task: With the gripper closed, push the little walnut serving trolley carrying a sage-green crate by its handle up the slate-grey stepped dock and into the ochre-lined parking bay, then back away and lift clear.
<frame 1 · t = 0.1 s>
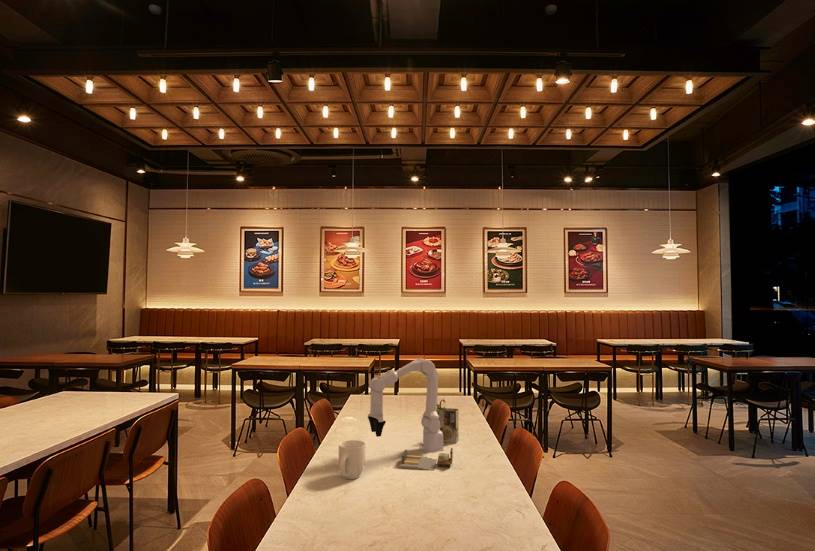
hand: (376, 434, 208), 10 cm above the table, tool pointing down, fingers open, 7 cm apart
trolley: (445, 457, 196), point 4 cm above the table, slide at 0.0 cm
dock: (426, 464, 197), on the table
mug: (350, 477, 181), on the table
plant: (440, 418, 281), on the table
coffee box: (448, 441, 232), on the table
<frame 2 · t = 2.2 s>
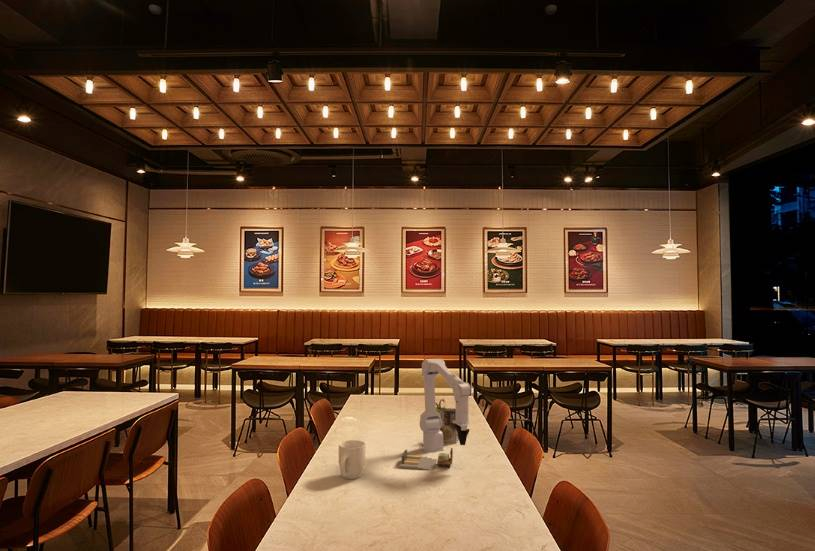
hand: (461, 442, 195), 10 cm above the table, tool pointing down, fingers open, 5 cm apart
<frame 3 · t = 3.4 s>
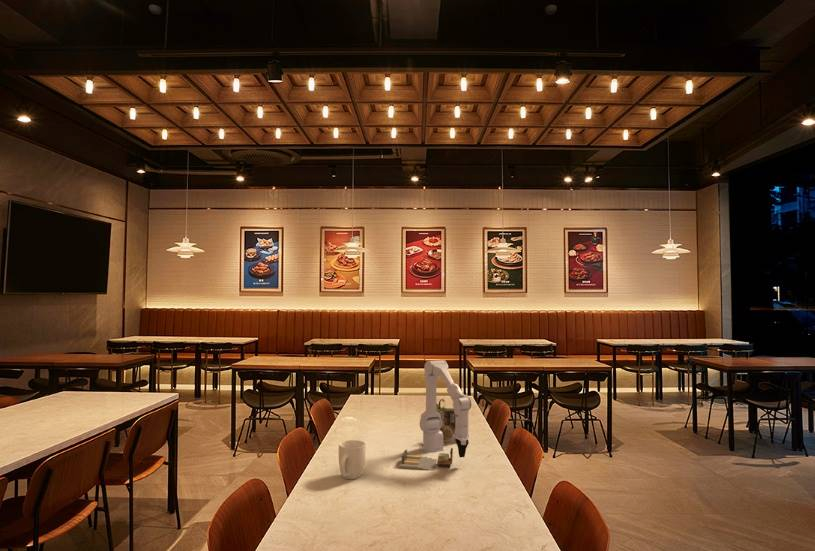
hand: (461, 456, 195), 4 cm above the table, tool pointing down, fingers closed
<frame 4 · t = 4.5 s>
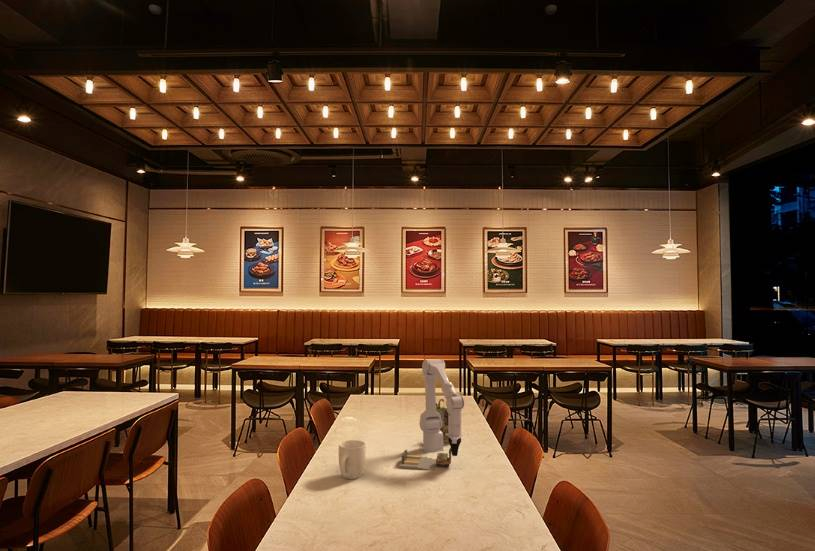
hand: (454, 455, 195), 5 cm above the table, tool pointing down, fingers closed, pressing on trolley
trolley: (443, 457, 196), point 4 cm above the table, slide at 0.6 cm, touching gripper
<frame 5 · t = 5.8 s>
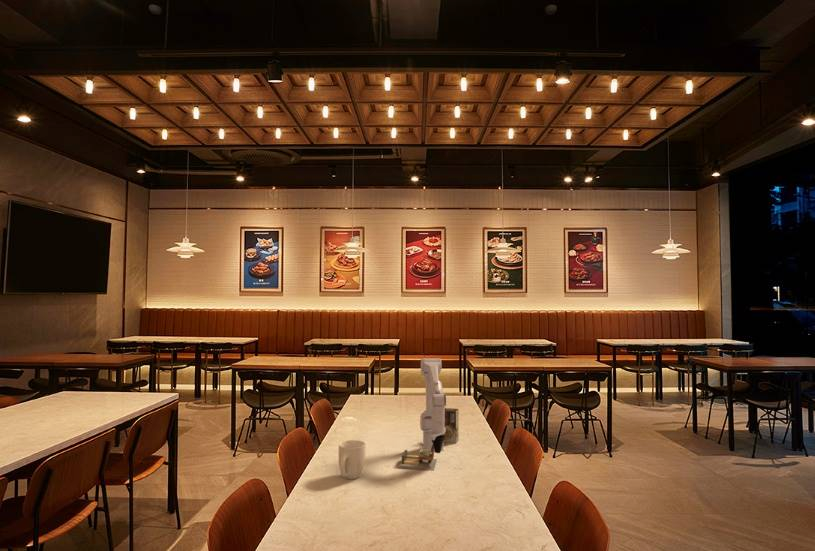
hand: (437, 452, 196), 6 cm above the table, tool pointing down, fingers closed
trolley: (426, 453, 197), point 5 cm above the table, slide at 8.4 cm, touching gripper
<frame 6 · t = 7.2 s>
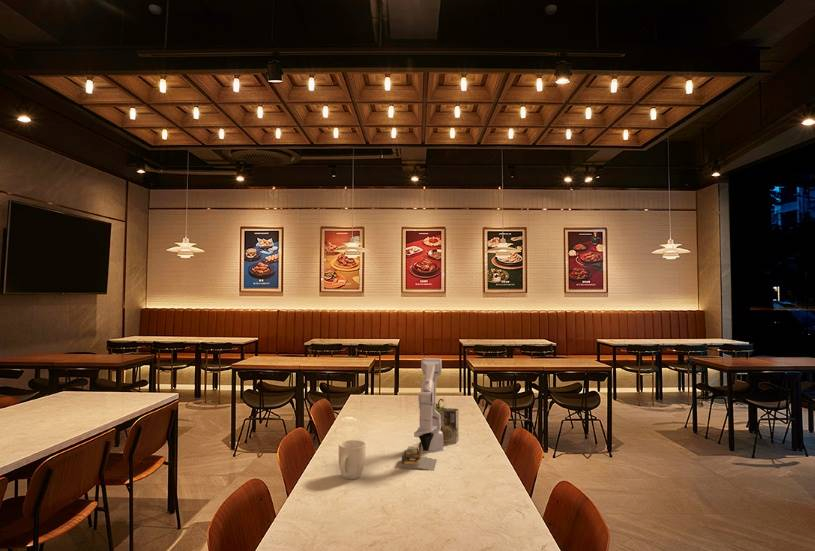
hand: (425, 450, 197), 6 cm above the table, tool pointing down, fingers closed
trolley: (413, 450, 198), point 6 cm above the table, slide at 14.0 cm, touching gripper
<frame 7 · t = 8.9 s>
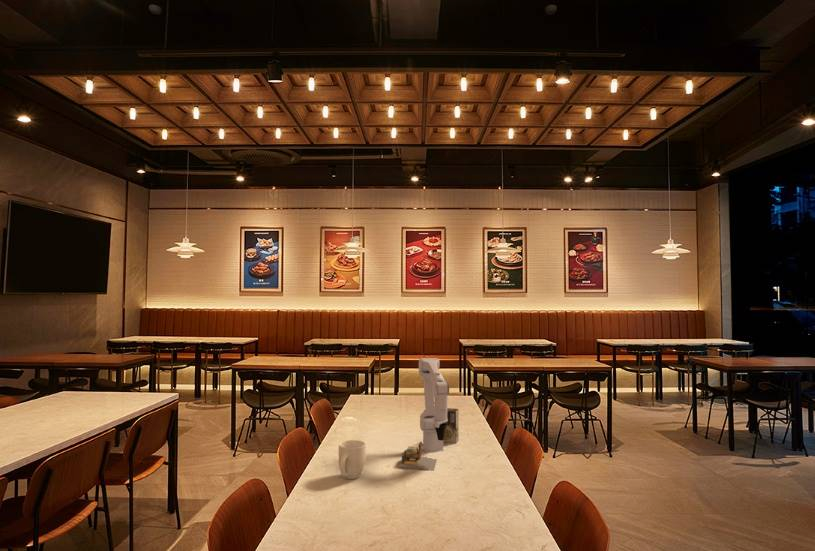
hand: (440, 440, 199), 10 cm above the table, tool pointing down, fingers closed
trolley: (413, 450, 198), point 6 cm above the table, slide at 14.0 cm
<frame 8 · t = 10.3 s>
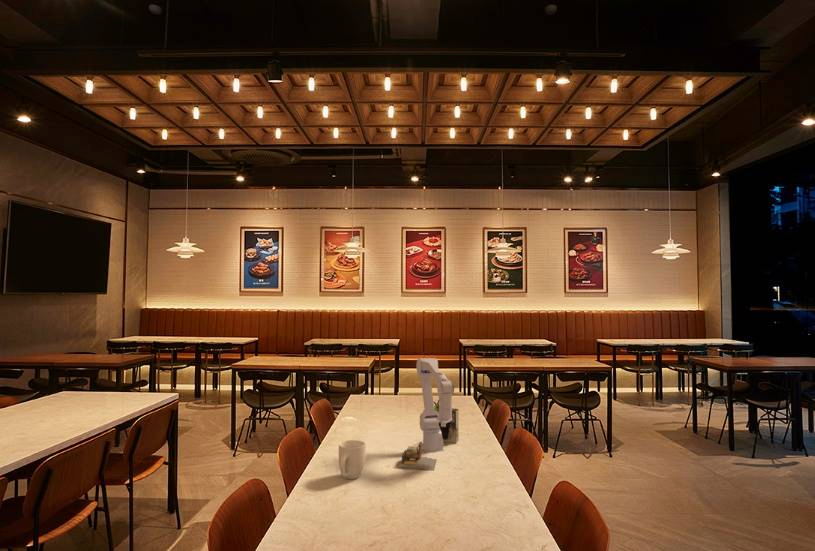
hand: (445, 439, 200), 10 cm above the table, tool pointing down, fingers closed
at the end: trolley slide at 14.0 cm; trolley 1.0 cm from the target spot on the dock, point 5.7 cm above the dock's base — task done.
